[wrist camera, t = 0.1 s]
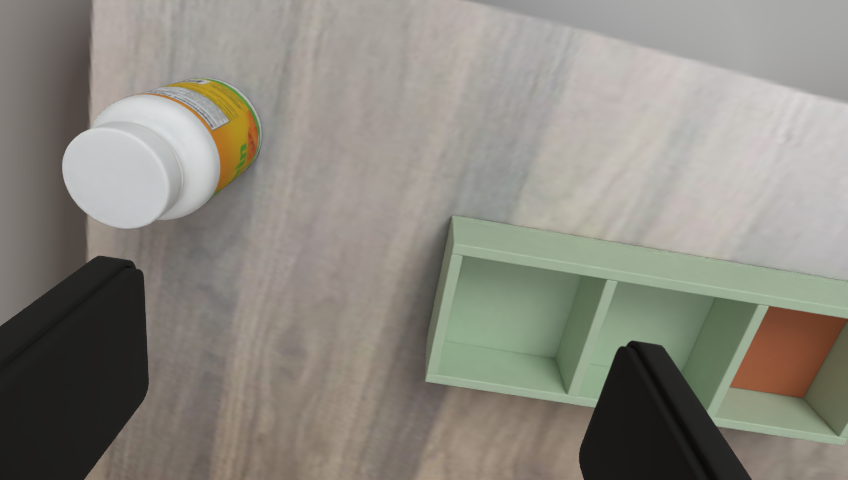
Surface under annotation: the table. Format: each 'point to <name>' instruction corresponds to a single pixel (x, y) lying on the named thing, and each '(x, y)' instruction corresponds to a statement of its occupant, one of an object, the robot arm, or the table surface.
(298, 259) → the table surface
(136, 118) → the supplement bottle
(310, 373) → the table surface
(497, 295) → the tray
